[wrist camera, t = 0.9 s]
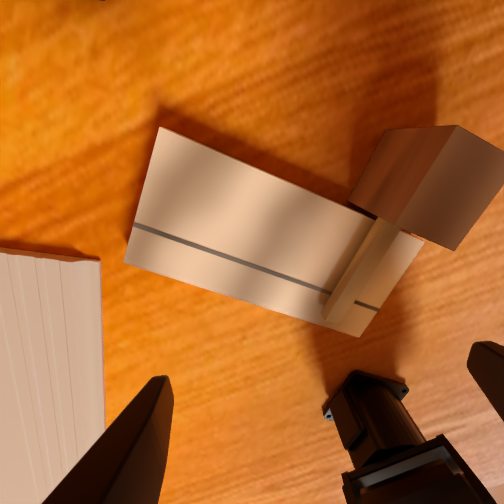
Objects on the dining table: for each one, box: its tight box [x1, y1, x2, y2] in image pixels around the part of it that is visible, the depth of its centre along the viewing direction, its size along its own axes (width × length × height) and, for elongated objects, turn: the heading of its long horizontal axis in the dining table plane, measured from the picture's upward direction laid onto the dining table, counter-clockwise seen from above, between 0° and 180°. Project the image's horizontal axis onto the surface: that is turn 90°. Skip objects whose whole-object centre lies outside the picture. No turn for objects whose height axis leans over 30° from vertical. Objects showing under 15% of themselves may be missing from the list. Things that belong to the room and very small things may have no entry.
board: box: [123, 127, 425, 338], centre depth 19 cm, size 19×9×2 cm, turn 67°
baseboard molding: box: [0, 247, 106, 504], centre depth 24 cm, size 31×3×12 cm
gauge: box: [321, 125, 504, 325], centre depth 17 cm, size 4×13×6 cm, turn 157°
